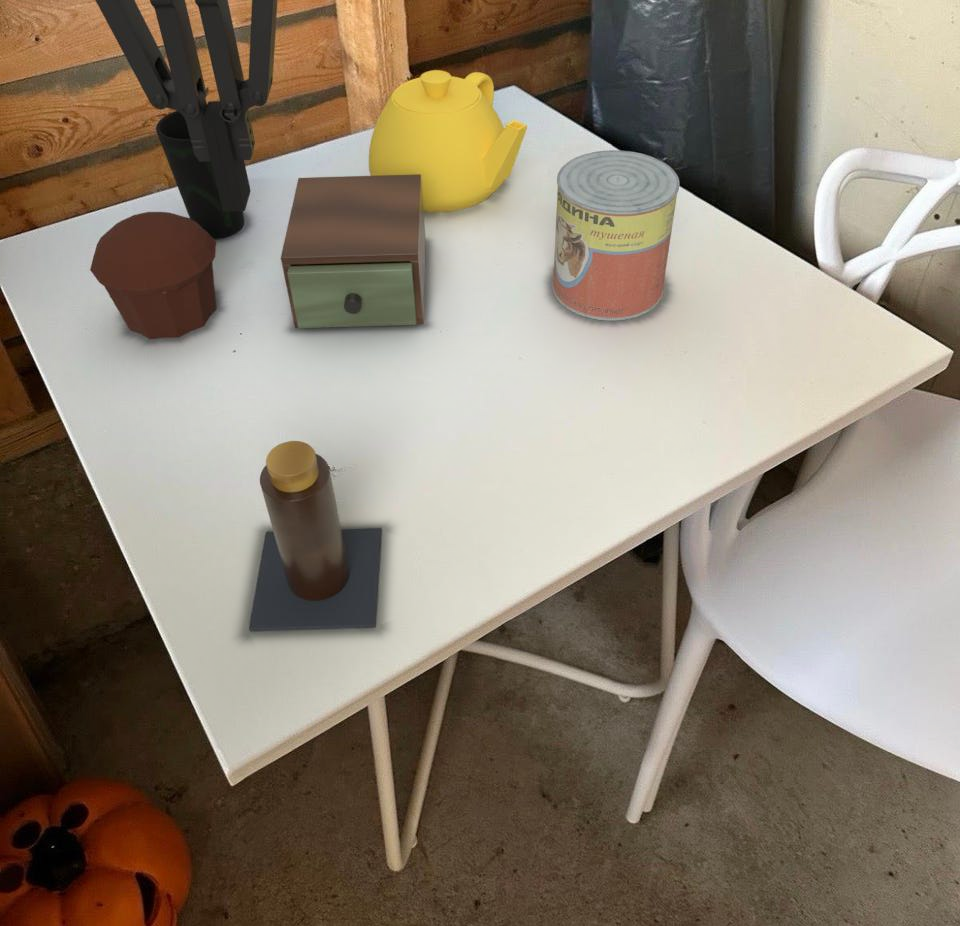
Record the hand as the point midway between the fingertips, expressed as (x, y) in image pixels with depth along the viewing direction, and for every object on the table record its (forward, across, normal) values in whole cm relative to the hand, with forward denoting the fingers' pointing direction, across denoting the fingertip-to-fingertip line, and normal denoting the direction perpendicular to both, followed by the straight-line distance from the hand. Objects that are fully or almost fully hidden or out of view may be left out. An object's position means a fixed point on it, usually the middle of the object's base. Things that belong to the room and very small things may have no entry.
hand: (237, 200), depth 64 cm
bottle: (+22, -4, +16) cm, 28 cm away
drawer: (+22, -5, -20) cm, 30 cm away
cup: (+23, +12, -34) cm, 43 cm away
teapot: (+23, -15, -42) cm, 50 cm away
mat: (+22, -4, +16) cm, 28 cm away
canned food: (+23, -30, -20) cm, 43 cm away
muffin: (+23, +14, -18) cm, 32 cm away
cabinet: (+22, -5, -22) cm, 32 cm away
